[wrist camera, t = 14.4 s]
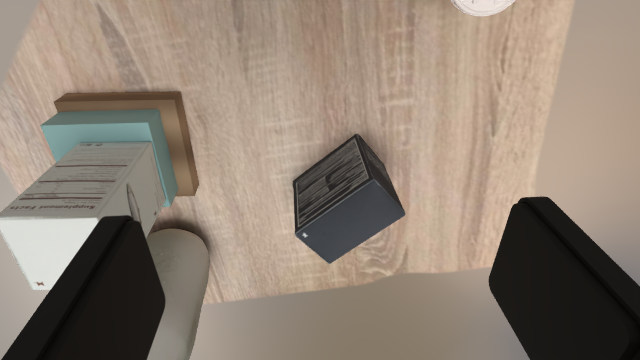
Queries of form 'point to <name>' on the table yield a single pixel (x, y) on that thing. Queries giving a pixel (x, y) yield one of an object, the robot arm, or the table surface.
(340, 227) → the small box
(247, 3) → the table surface
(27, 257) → the supplement box
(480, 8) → the smoothie
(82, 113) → the tower top
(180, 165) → the tower base
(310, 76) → the table surface
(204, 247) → the glass bottle
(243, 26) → the table surface
